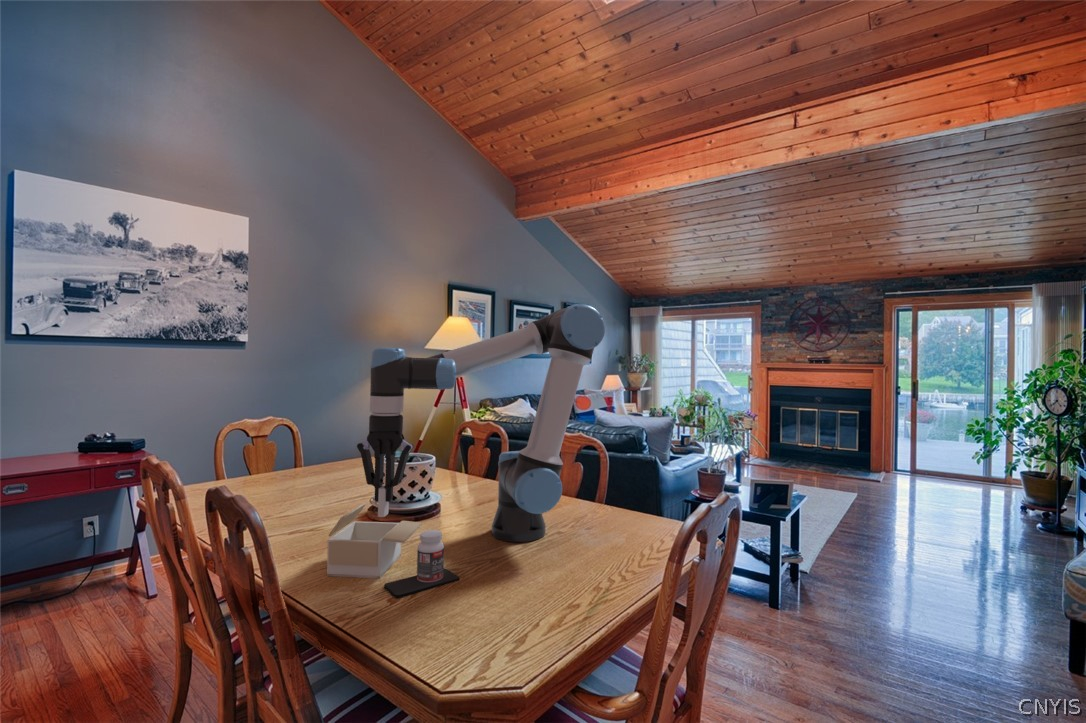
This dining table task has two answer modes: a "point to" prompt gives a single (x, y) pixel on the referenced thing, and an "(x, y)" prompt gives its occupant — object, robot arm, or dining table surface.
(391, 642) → the dining table surface
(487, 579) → the dining table surface
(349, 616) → the dining table surface
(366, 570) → the carton
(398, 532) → the flap
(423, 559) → the pill bottle
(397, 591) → the smartphone
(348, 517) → the flap
